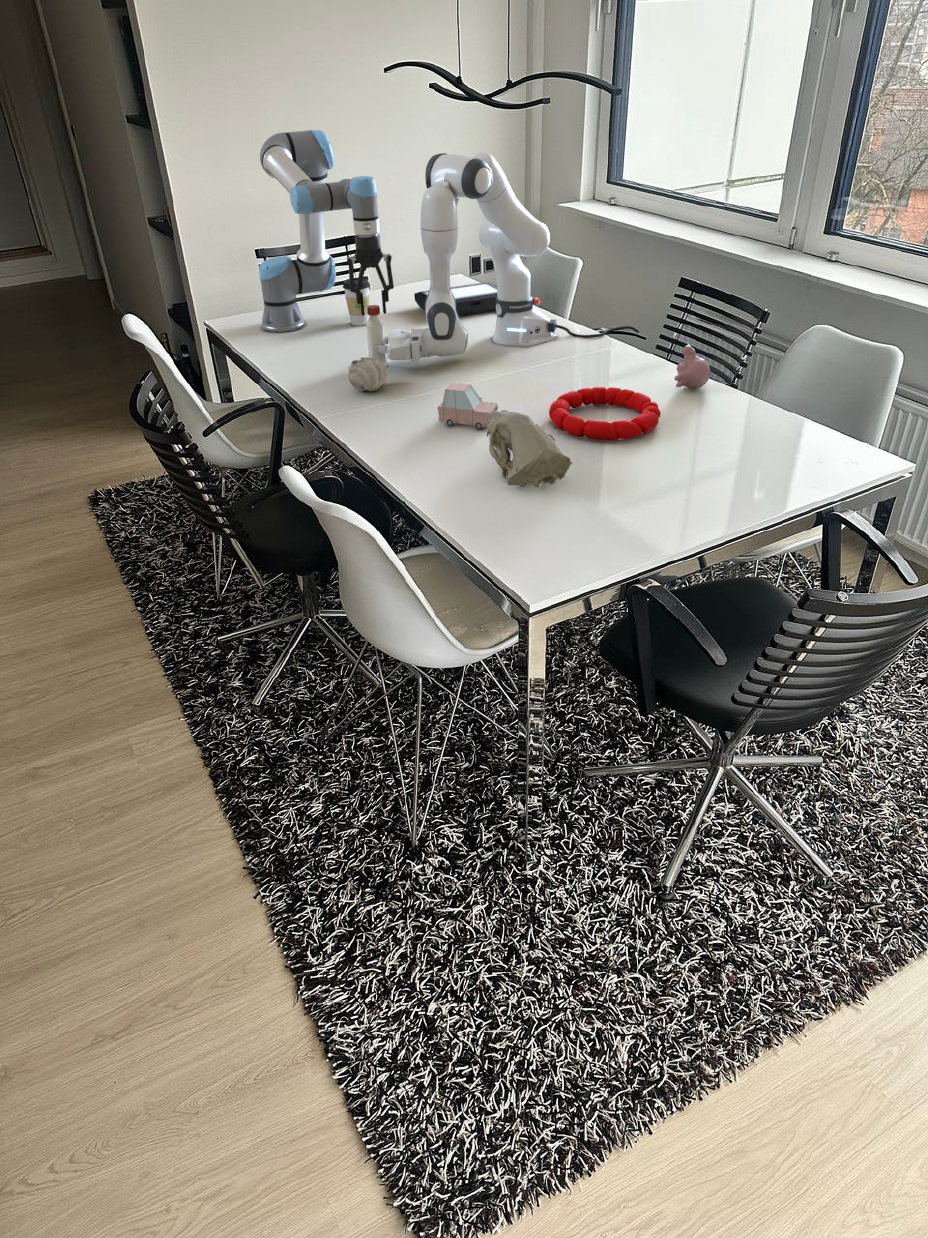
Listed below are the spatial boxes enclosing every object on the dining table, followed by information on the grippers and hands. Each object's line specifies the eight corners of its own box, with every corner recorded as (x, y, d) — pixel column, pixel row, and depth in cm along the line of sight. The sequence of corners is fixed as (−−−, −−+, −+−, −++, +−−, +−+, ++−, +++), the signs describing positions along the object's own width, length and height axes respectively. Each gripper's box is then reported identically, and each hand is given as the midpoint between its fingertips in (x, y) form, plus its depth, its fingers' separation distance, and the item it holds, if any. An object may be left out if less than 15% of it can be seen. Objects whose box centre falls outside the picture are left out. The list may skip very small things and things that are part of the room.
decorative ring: (589, 435, 224) (684, 402, 234) (527, 398, 247) (617, 369, 256) (589, 461, 229) (683, 427, 238) (529, 422, 251) (617, 393, 260)
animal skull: (496, 517, 219) (521, 479, 201) (463, 429, 225) (484, 384, 207) (557, 503, 225) (586, 465, 206) (523, 417, 231) (549, 373, 212)
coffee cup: (372, 326, 323) (368, 283, 314) (345, 327, 323) (340, 284, 315) (374, 318, 331) (371, 276, 322) (348, 319, 331) (344, 277, 323)
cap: (365, 314, 278) (364, 307, 277) (372, 311, 281) (371, 304, 279) (375, 316, 276) (374, 308, 275) (382, 313, 279) (382, 305, 278)
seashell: (340, 389, 270) (336, 357, 264) (385, 380, 276) (382, 348, 270) (353, 400, 262) (350, 366, 257) (399, 390, 268) (397, 357, 262)
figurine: (665, 387, 264) (669, 347, 257) (693, 380, 268) (698, 340, 261) (686, 396, 257) (690, 355, 250) (714, 388, 262) (720, 348, 255)
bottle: (378, 361, 291) (373, 304, 281) (390, 365, 288) (386, 307, 277) (366, 366, 287) (360, 308, 277) (378, 369, 284) (373, 311, 274)
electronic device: (434, 303, 323) (414, 291, 338) (435, 321, 326) (415, 307, 341) (513, 291, 333) (490, 280, 348) (512, 308, 336) (490, 296, 352)
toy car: (488, 432, 240) (488, 396, 234) (436, 426, 244) (434, 390, 239) (499, 419, 247) (499, 384, 241) (448, 413, 252) (447, 379, 246)
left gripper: (335, 239, 261) (344, 319, 274) (400, 234, 263) (405, 314, 276) (334, 234, 267) (342, 312, 280) (397, 229, 269) (402, 307, 283)
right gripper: (416, 323, 291) (374, 325, 291) (416, 343, 274) (371, 344, 274) (417, 342, 294) (375, 344, 294) (417, 363, 277) (373, 365, 277)
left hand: (373, 313), depth 278 cm, fingers open, 6 cm apart
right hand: (373, 344), depth 284 cm, fingers closed on bottle, 5 cm apart
